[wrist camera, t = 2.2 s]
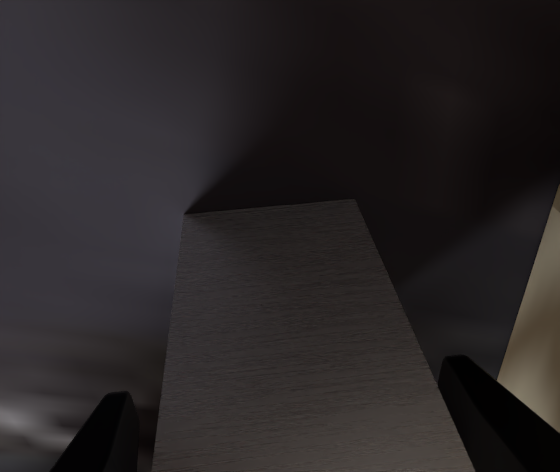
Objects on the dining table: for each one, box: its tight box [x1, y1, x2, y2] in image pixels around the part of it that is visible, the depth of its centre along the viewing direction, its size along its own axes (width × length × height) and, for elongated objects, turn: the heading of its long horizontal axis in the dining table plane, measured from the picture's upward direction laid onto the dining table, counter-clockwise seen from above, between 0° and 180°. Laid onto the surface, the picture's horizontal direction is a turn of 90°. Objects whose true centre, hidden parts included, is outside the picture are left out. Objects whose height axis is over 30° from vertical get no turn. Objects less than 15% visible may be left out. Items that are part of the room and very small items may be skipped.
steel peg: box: [151, 199, 475, 472], centre depth 8 cm, size 4×4×10 cm
